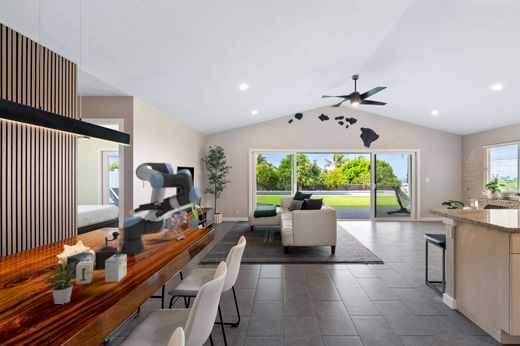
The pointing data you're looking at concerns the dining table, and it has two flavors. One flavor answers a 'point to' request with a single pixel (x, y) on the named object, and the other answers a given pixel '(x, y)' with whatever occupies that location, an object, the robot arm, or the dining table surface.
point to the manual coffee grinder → (105, 253)
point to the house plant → (61, 284)
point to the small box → (78, 260)
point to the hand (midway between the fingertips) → (137, 215)
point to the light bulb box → (115, 268)
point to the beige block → (84, 272)
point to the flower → (175, 225)
